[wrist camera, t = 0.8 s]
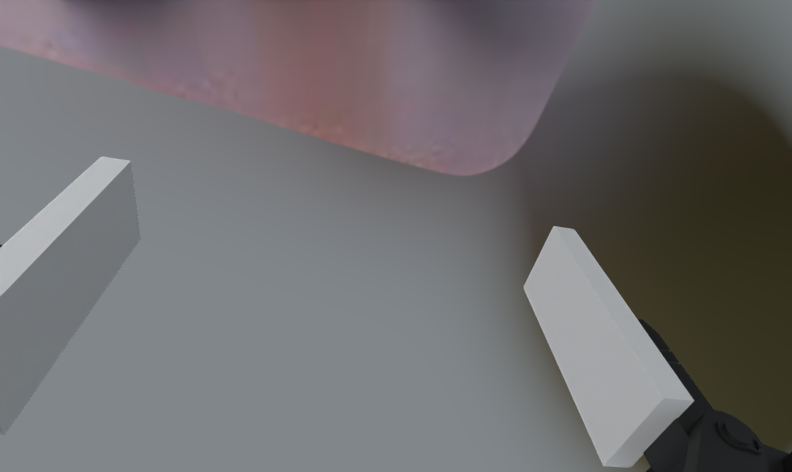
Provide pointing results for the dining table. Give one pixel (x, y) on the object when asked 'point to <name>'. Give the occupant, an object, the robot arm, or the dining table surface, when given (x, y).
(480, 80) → the dining table surface
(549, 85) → the dining table surface
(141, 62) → the dining table surface
